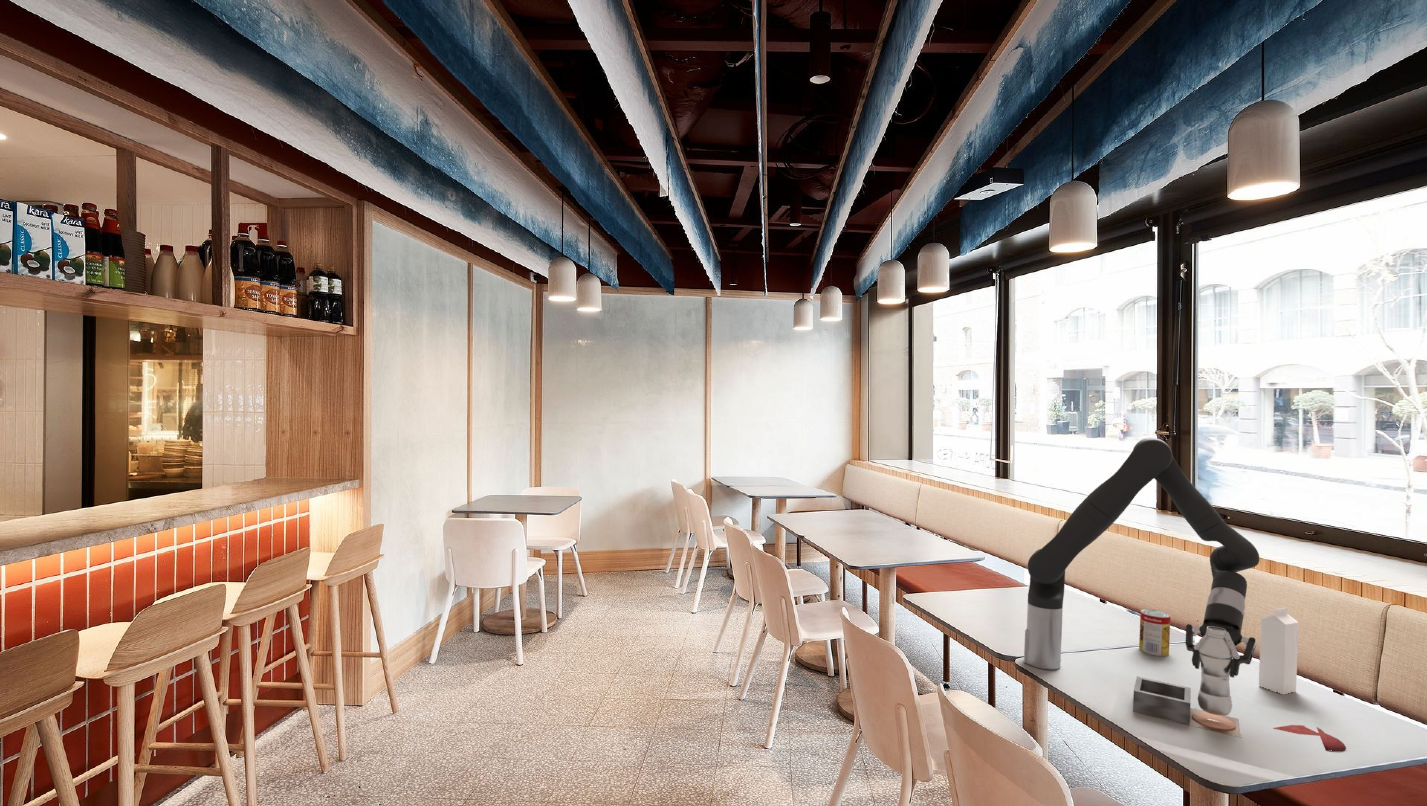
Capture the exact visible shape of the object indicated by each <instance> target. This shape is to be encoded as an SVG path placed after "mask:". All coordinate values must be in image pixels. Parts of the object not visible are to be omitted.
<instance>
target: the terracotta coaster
mask: <svg viewBox="0 0 1427 806" xmlns="http://www.w3.org/2000/svg"><path fill="white" fill-rule="evenodd" d="M1192 718H1193V719H1194V720H1195V721H1196V722H1198V723H1200V724H1202V725H1205V726H1208V727H1211V728H1215V729H1221V730H1233V729H1235V726H1236V725H1235V723H1234V722H1232V721H1231V720H1229V719H1227V718H1225V717H1222V716H1219V715H1214V714H1211V713H1205V712H1196V713H1193V714H1192Z"/></svg>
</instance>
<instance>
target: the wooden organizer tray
mask: <svg viewBox="0 0 1427 806" xmlns="http://www.w3.org/2000/svg"><path fill="white" fill-rule="evenodd" d="M1191 690H1192V688H1191V687H1189V686H1183V685H1180V684H1174V683H1169V682H1165V681H1161V680H1156V679H1151V678H1147V677H1146V678H1145V677H1142V676H1136V678H1135V683H1134V688H1133V701H1132V703H1133V704H1132V705H1133V706H1132V712H1133V713H1134V714H1135V713H1136V714H1139V715H1145V716H1149V717H1152V718H1157V719H1160V720H1161V719H1162V720H1166V721H1168V722H1169V721H1170V722H1174V723H1178V724H1181V725H1182V724H1183V725H1186V726H1189V727H1190V726H1191V727H1194V728H1199V729H1203V730H1207V731H1211V732H1216V733H1220V734H1223V735H1228V736H1231V737H1232V736H1233V737H1236V738H1240V739H1241V738H1242V734H1241V727H1240V721H1239V720H1240V719H1239V718H1236V717H1233V716H1230V715H1225V716H1222V717H1225V718H1227V719H1229V720H1231V721H1232V722H1234V723H1235V725H1236V726H1235V729H1233V730H1221V729H1215V728H1211V727H1208V726H1205V725H1202V724H1200V723H1198V722H1196V721H1195V720H1194V719H1193V718H1192V714H1193V713H1196V712H1205V711H1203V710H1202V709H1196V708H1193V707H1191V704H1192V703H1191V699H1192V698H1191V694H1192V691H1191ZM1205 713H1208V712H1205ZM1219 716H1221V715H1219Z"/></svg>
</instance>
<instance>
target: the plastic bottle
mask: <svg viewBox="0 0 1427 806" xmlns="http://www.w3.org/2000/svg"><path fill="white" fill-rule="evenodd" d="M1206 635H1207V638H1206V639H1204V640H1203V641H1202V643H1201V644H1200V646H1199V655H1200V670H1201V671H1200V677H1201V678H1200V685H1199V691H1198V695H1197V702H1198V707H1199V708H1200V710H1202V711H1205V712H1208V713H1211V714H1214V715H1221V716H1229V715H1230V714H1231V712H1232V709H1233V700H1232V697H1231V689H1230V666H1231V660H1232V659H1233V658H1232V655H1233V653H1232V650H1231V648H1230V647H1229V645H1228V644H1227V642H1226V641H1225V638H1226V630H1225V629H1224V628H1220V627H1215V626H1208V627H1207V632H1206Z"/></svg>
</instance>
